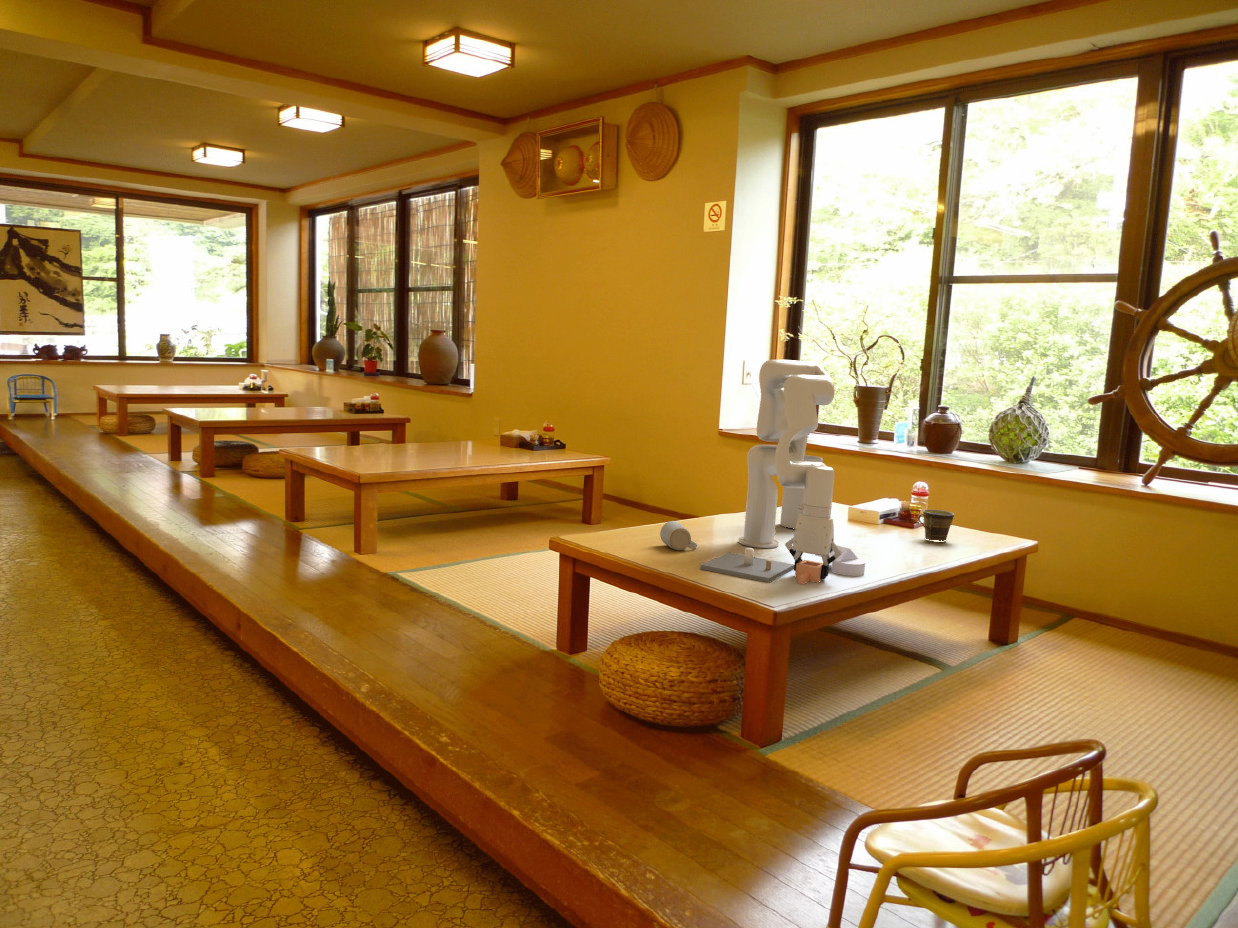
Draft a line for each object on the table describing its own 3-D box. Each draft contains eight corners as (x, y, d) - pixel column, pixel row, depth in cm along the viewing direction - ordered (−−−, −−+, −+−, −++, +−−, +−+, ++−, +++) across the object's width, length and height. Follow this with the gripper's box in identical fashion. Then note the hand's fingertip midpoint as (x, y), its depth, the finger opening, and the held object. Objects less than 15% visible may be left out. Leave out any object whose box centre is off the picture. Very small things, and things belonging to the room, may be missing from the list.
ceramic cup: (938, 537, 308) (941, 509, 307) (957, 544, 299) (960, 515, 297) (906, 537, 304) (910, 509, 302) (925, 544, 294) (928, 515, 293)
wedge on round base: (813, 566, 253) (851, 577, 243) (815, 543, 252) (853, 553, 242) (833, 563, 258) (870, 573, 248) (835, 540, 257) (872, 550, 247)
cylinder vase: (808, 532, 302) (815, 460, 299) (774, 526, 309) (780, 456, 305) (821, 527, 312) (827, 457, 309) (788, 521, 319) (794, 453, 316)
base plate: (729, 556, 258) (730, 537, 257) (794, 568, 248) (796, 549, 247) (700, 568, 241) (701, 548, 240) (768, 582, 231) (770, 561, 230)
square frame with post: (802, 573, 243) (804, 559, 243) (825, 577, 240) (826, 563, 239) (789, 581, 233) (790, 566, 233) (812, 586, 230) (813, 571, 230)
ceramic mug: (669, 551, 259) (671, 526, 258) (658, 545, 267) (660, 520, 266) (701, 551, 263) (703, 526, 262) (690, 545, 271) (692, 520, 270)
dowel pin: (766, 568, 241) (767, 559, 241) (771, 569, 240) (772, 560, 240) (764, 569, 240) (765, 560, 240) (769, 570, 239) (770, 561, 239)
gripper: (781, 508, 237) (775, 572, 240) (844, 518, 229) (837, 584, 231) (790, 505, 244) (784, 568, 246) (852, 514, 235) (845, 579, 238)
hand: (810, 575), depth 239 cm, fingers closed on square frame with post, 6 cm apart
